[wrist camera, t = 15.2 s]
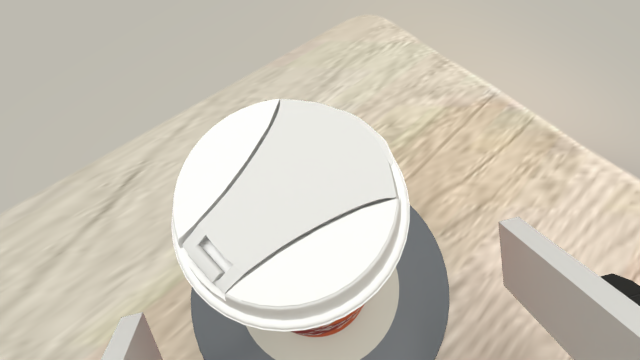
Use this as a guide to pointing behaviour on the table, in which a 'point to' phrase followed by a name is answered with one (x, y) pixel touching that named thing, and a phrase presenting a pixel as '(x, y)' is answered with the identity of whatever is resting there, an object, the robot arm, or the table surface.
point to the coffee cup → (290, 216)
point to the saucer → (365, 330)
